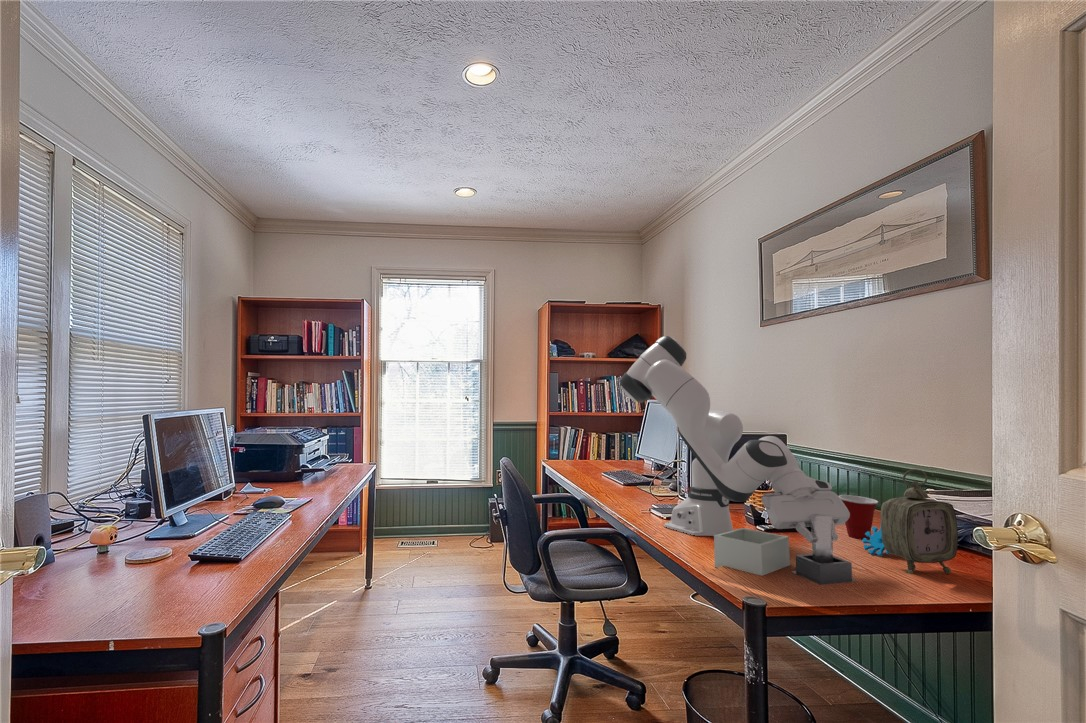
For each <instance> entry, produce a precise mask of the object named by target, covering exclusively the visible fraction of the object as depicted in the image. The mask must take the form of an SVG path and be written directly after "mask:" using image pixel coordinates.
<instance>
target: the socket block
mask: <svg viewBox="0 0 1086 723" xmlns="http://www.w3.org/2000/svg"><path fill="white" fill-rule="evenodd" d="M852 564H853V563H852V561H849V560H846V559H843V558H842V557H841V558H840V557H838V556H836V555H833V563H822V564H820V563H818V562H815V561H813V556H812V553H807V554H795V571H794V570H793V571H792V570H791V573H793V574H795V575H798V576H800V577H801V578H804V579H806V580H809V581H811V582H813V583H814V584H817V585H820V586H822V585H823V586H824V585H830V584H831V585H832V584H842V583H843V584H844V583H853V582H858V580H856V579H854V578H853V569H852V568H853V567H852Z"/></svg>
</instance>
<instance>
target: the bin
mask: <svg viewBox="0 0 1086 723" xmlns="http://www.w3.org/2000/svg"><path fill="white" fill-rule="evenodd" d="M713 547H714V553H713V554H714V568H715V567H717V568H716V569H718V568H721V567H726V568H731V569H734V570H738V571H742V572H746V573H749V574H754V575H757V576H765V575H767V574H771V573H773V572H776V571H778V570H781V569H785V568H786V567H789V566H791V564H790V563H791V562H790V559H791V558H790V537H789V536H787V535H782V534H776V533H771V532H766V531H760V530H755V529H750V528H746V527H740V528H737V529H733V530H732V531H729V532H725V533H721V534H718V535H714V536H713Z"/></svg>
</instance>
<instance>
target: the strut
mask: <svg viewBox="0 0 1086 723" xmlns="http://www.w3.org/2000/svg"><path fill="white" fill-rule="evenodd" d="M810 528H811V530H810V532H811V533H812V532H814V534H815V536H816V537H817V540H816V541H815V542H813V543H811V551H812V553H811V554H812V556H813V561H815V562H818V563H820V564H822V563H833V556H834V546H833V545H834V543H833V542H834V541H833V540H832V516H830V515H826V514H811V527H810Z"/></svg>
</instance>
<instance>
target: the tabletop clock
mask: <svg viewBox="0 0 1086 723" xmlns="http://www.w3.org/2000/svg"><path fill="white" fill-rule="evenodd" d="M911 473H920V474H922V475H923V476H924V479H925V480H924V481H923V482H918V481H917V480H913V481H912V483H910V482H908V481H906V477H907V476H908V474H911ZM902 481H903V483H904V485H906V486H908V488H907V489H906V490H905V491H904V493H903V496H900V497H893V498H889V499H887V500H886V501H884V502H882V503H881V507H880V525H881V535H882V541H883V545H884V547H885V550H887V552H889V553H891V554H892V555H894V556H896V557H900V558H903V559H905V561H906V562H907V564H906V565H907V569H906V570H905V574H908V575H913V574H914V572H913V571H914V570H915V569H916V568H917V566H916V565H915V563H918V564H919V563H920V564H936V563H937V564H939V565H941V567H942V572H943V573H944V574H947V575H948V574H950V573H951V572H952V569H951V568H950V567H949V566H946V565H945V564H944V562H948V561H951V560H953V559H954V558H955V557H956V556H957V553H958V548H959V547H958V546H959V545H958V544H959V540H958V539H959V537H958V536H959V531H958V529H959V528H958V522H957V521H958V520H957V515H956V510H955V508H954V505H953V504H951V503H949V502H945V501H940V500H935V499H931V498H930V497H929V495H928V493H927V492H926V491H925V490H924V489H923V488H920V487H922V486H924V485H925V484H926V483H927V481H928V476H927V473H926V472H925V471H923V470H921V469H917V468H916V469H908V470H907V471H905V472H904V474H903V475H902ZM909 487H910V488H909ZM929 498H930V499H929ZM891 554H890V555H891Z"/></svg>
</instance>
